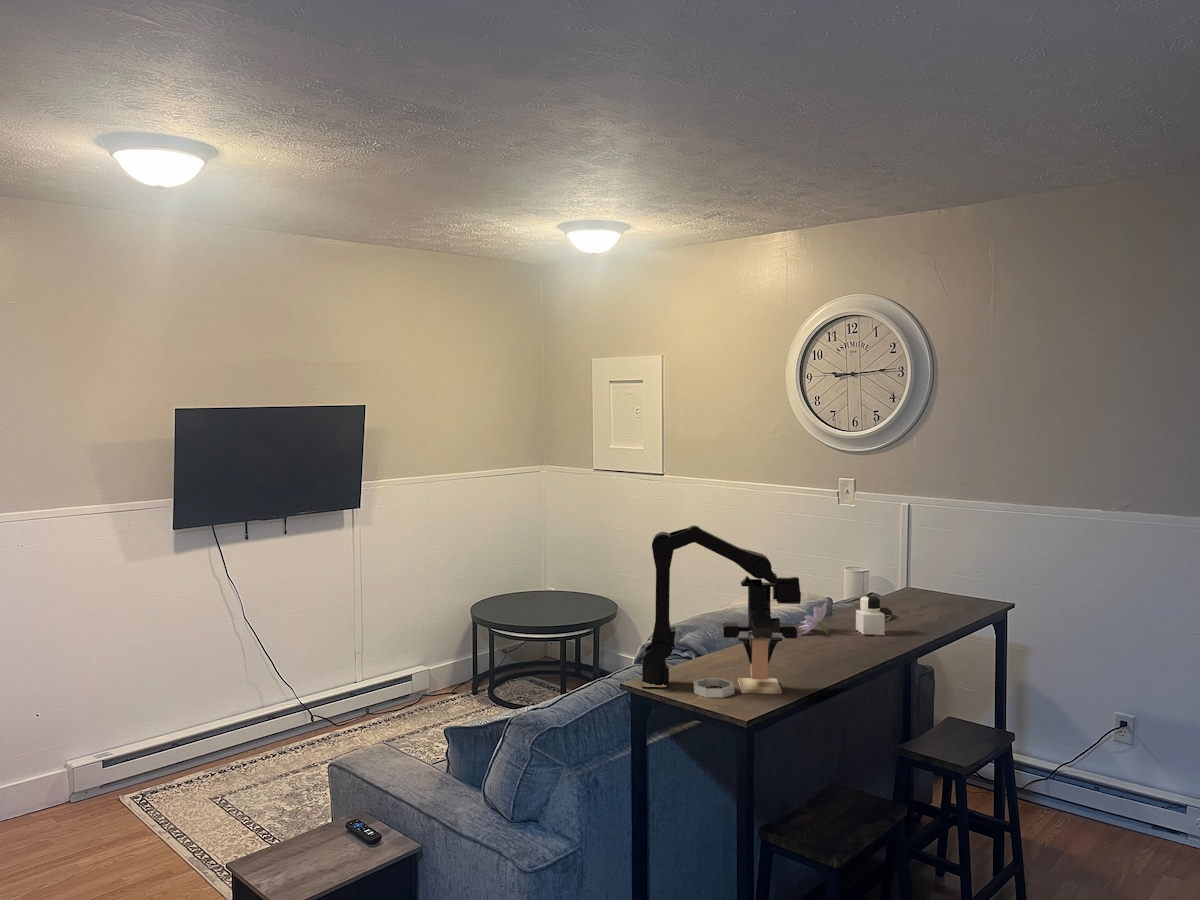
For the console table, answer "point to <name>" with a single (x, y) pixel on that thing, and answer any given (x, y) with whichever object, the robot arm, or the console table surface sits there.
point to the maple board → (759, 685)
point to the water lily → (814, 619)
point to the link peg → (759, 658)
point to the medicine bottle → (870, 616)
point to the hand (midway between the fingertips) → (759, 663)
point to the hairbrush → (885, 611)
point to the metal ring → (713, 692)
